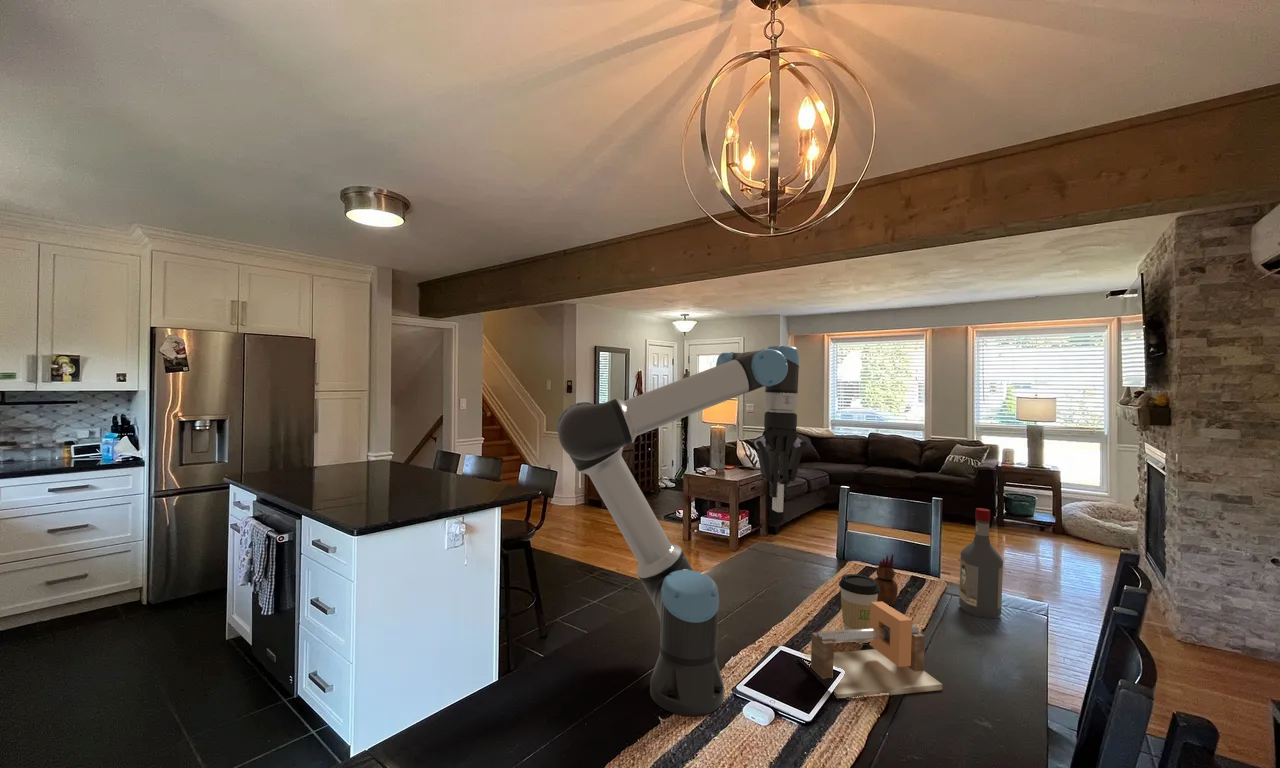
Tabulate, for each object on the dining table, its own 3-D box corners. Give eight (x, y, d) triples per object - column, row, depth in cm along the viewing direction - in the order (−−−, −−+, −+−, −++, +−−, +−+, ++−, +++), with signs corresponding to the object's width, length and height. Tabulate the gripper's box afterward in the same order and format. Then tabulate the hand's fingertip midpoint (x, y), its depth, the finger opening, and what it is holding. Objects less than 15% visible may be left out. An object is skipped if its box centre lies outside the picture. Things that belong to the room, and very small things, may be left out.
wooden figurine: (898, 603, 161) (899, 553, 161) (895, 609, 156) (897, 558, 156) (873, 598, 165) (875, 549, 165) (870, 604, 160) (872, 553, 160)
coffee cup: (882, 650, 132) (884, 589, 132) (840, 644, 133) (842, 584, 134) (873, 632, 141) (875, 575, 141) (834, 627, 143) (836, 571, 143)
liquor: (989, 607, 161) (992, 507, 161) (1004, 620, 152) (1007, 514, 152) (956, 603, 162) (959, 505, 162) (969, 616, 153) (972, 511, 153)
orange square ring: (898, 666, 116) (900, 620, 116) (869, 644, 126) (870, 602, 126) (910, 665, 116) (912, 619, 116) (880, 643, 126) (882, 601, 126)
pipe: (823, 648, 116) (824, 634, 116) (815, 641, 119) (816, 627, 119) (919, 641, 121) (920, 627, 121) (909, 634, 124) (910, 620, 124)
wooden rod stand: (837, 700, 109) (838, 656, 109) (798, 660, 125) (799, 622, 125) (942, 689, 115) (943, 647, 115) (892, 652, 130) (893, 615, 130)
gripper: (762, 411, 122) (758, 515, 122) (814, 412, 125) (810, 514, 125) (748, 409, 129) (745, 507, 129) (798, 411, 132) (794, 506, 132)
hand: (777, 510), depth 127 cm, fingers closed
